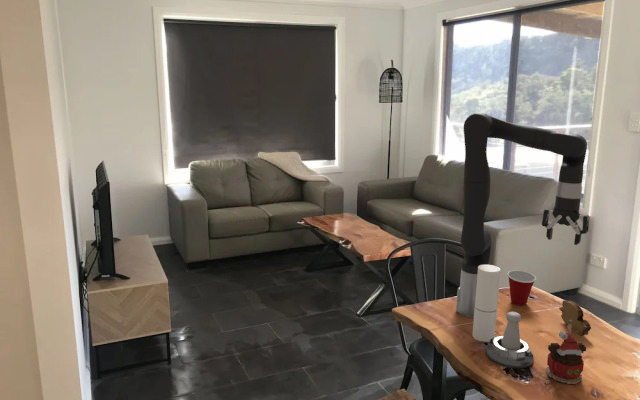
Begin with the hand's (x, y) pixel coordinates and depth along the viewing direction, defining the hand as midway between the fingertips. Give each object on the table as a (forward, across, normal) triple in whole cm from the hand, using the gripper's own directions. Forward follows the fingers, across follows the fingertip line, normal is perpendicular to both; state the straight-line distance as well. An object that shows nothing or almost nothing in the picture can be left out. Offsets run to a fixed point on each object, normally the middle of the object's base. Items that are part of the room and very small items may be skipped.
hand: (562, 241), depth 173 cm
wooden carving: (+33, +5, +7) cm, 34 cm away
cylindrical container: (+33, -16, -21) cm, 42 cm away
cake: (+33, +13, -28) cm, 45 cm away
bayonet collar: (+33, -4, -28) cm, 43 cm away
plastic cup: (+33, -18, +16) cm, 41 cm away
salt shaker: (+32, -4, -27) cm, 42 cm away
